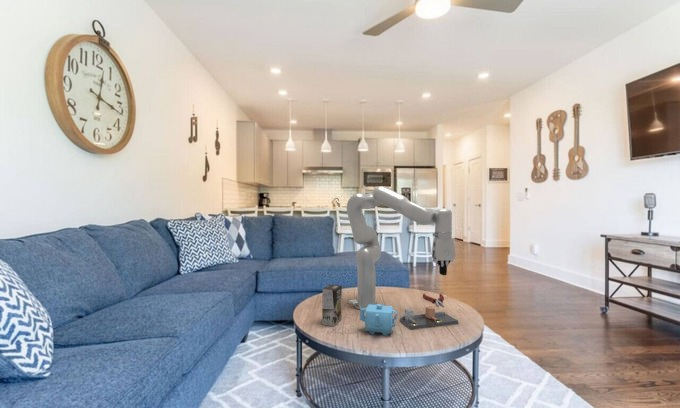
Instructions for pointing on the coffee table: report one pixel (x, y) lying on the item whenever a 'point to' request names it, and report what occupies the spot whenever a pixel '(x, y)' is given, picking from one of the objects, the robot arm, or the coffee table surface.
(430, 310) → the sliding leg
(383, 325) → the teapot
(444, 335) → the coffee table surface
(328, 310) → the coffee box
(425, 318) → the plate
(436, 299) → the pliers
